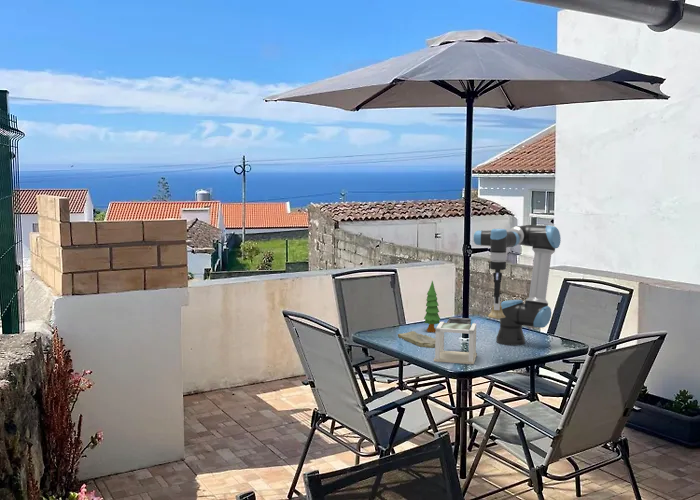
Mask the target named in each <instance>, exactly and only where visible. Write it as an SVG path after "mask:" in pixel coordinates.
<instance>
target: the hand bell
mask: <svg viewBox="0 0 700 500" xmlns="http://www.w3.org/2000/svg"><path fill="white" fill-rule="evenodd" d="M497 294H498V293H497ZM487 317H488V318H492V319H500V318H505V315H504V314H503V312H502V306H501V304H500V310H494V304H493V305H492V307H491V311H490V313H489V314H488V315H487Z"/></svg>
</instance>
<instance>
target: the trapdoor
mask: <svg viewBox="0 0 700 500" xmlns="http://www.w3.org/2000/svg"><path fill="white" fill-rule="evenodd" d="M471 323H472V318H469V317H467V318H465V317H451V316H449V318H448V320H447V321H446V322H444V325H443V326H442V328H449V329H466V330H470V328H471V326H472V324H471Z"/></svg>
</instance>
